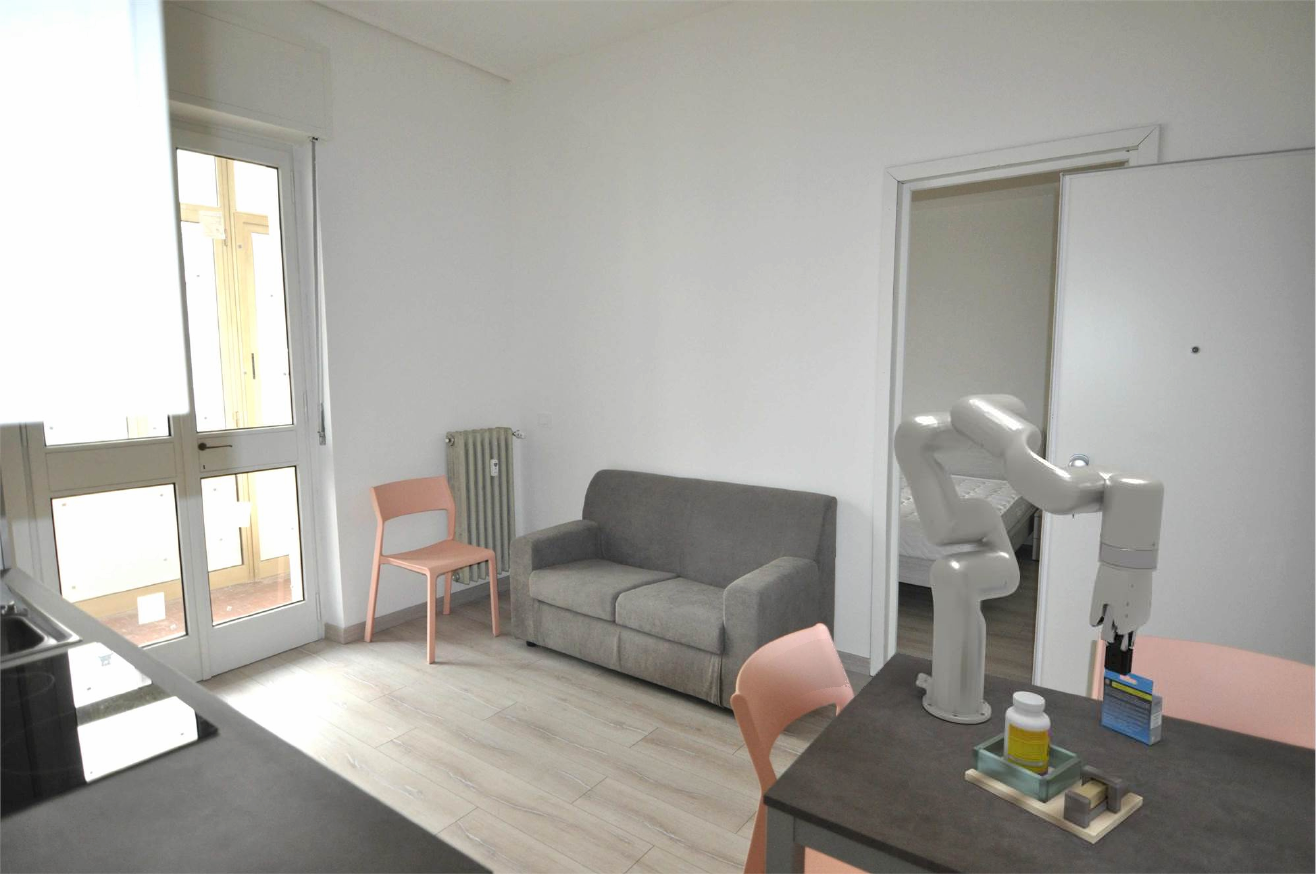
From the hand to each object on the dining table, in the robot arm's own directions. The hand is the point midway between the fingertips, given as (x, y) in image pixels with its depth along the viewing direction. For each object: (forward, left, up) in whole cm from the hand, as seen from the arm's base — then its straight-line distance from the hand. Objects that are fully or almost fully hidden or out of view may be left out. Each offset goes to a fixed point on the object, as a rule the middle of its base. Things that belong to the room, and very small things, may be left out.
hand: (1117, 670), depth 112 cm
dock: (-6, -5, -21) cm, 23 cm away
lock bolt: (+1, -6, -18) cm, 19 cm away
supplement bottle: (-11, -5, -20) cm, 23 cm away
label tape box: (-7, +26, -21) cm, 34 cm away
